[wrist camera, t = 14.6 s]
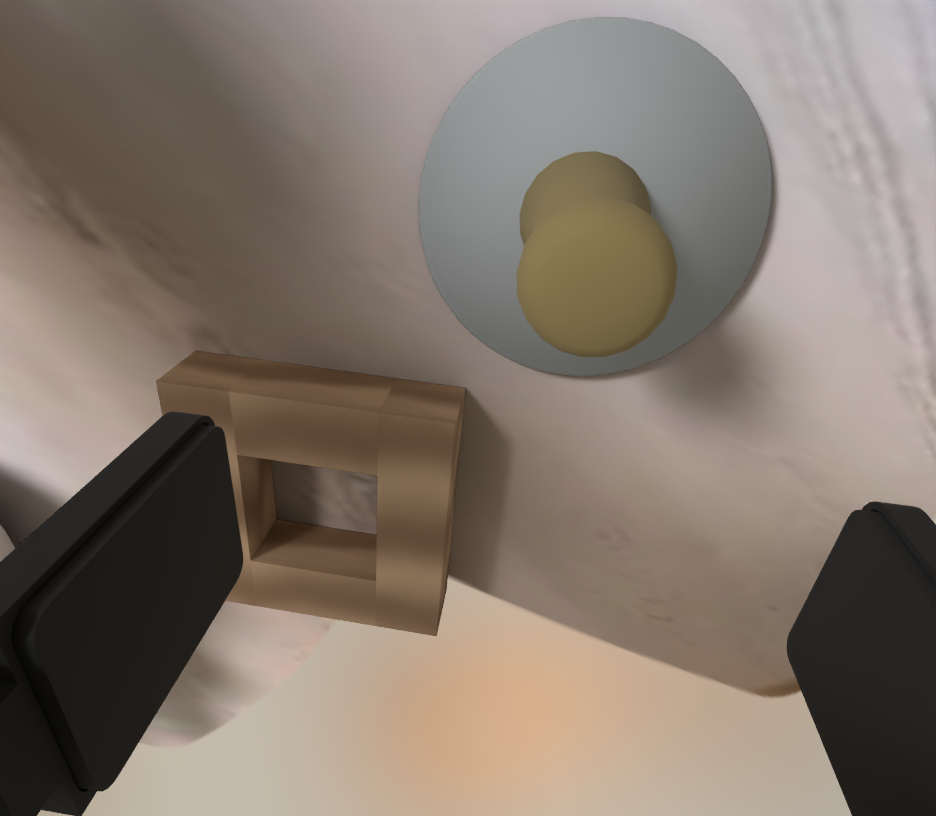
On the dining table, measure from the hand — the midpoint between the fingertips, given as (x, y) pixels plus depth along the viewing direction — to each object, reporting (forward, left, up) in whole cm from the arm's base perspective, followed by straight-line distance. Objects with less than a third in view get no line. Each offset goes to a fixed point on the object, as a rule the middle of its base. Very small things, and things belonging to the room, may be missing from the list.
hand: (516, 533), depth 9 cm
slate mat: (0, +2, -23) cm, 23 cm away
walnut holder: (+18, -11, -23) cm, 31 cm away
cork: (0, +2, -22) cm, 22 cm away
